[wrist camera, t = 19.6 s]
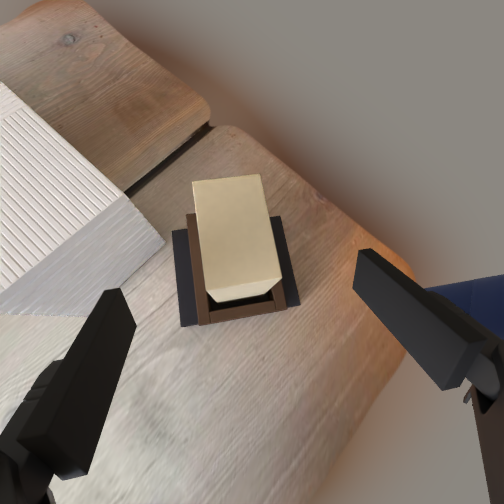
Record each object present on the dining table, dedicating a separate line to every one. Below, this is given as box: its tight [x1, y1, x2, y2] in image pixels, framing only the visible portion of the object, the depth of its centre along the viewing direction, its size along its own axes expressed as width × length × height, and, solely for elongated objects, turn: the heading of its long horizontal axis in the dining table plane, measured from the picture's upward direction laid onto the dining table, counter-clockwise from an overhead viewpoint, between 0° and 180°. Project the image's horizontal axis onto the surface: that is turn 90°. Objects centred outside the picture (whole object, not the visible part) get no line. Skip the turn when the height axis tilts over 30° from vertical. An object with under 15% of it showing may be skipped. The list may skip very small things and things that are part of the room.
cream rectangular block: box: [192, 174, 282, 304], centre depth 20 cm, size 4×7×11 cm, turn 10°
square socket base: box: [172, 213, 301, 327], centre depth 24 cm, size 12×10×4 cm
